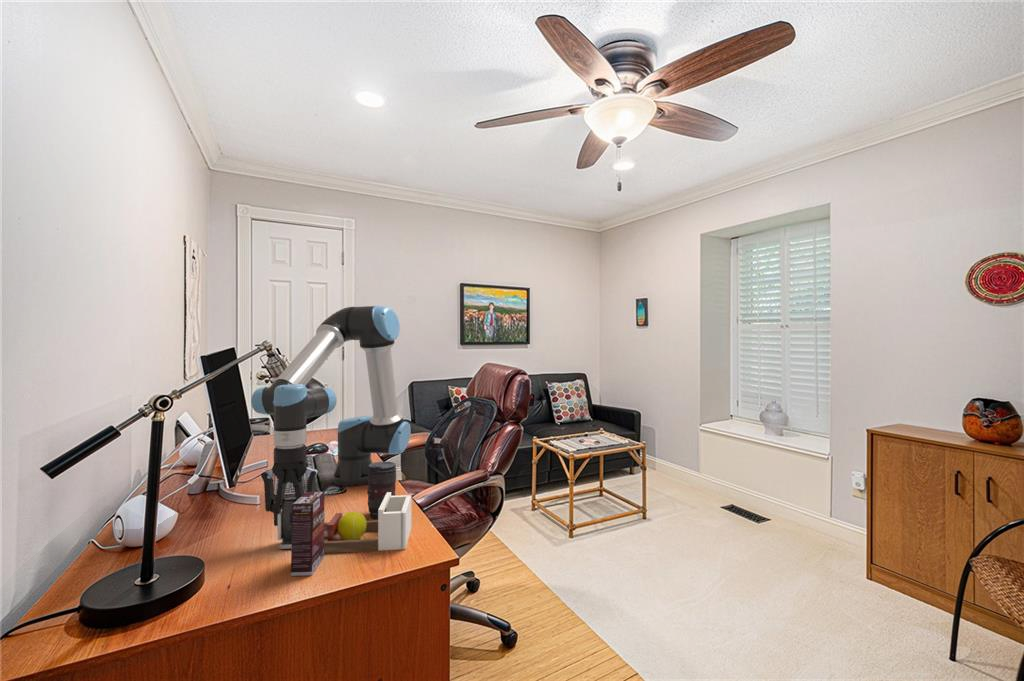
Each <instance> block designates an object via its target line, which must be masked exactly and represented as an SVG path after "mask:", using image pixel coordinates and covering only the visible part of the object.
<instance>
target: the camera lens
mask: <svg viewBox="0 0 1024 681" xmlns="http://www.w3.org/2000/svg"><path fill="white" fill-rule="evenodd" d="M396 481H397V467H396V463H395V462H392V461H376V462H372V463H371V464H370V465H369V469H368V483H367V485H368V487H367V490H366V491H367V492H366V494H367V508H368V512H369V517H370V518H372V519H374V520H375V519H376V520H378V509H379V507H380V505H381V503H382V501H383V499H384V497H385V495H386V493H387V492H391V496H397V494H396V483H397V482H396ZM384 512H386V509H385V511H384Z"/></svg>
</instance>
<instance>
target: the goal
mask: <svg viewBox="0 0 1024 681" xmlns="http://www.w3.org/2000/svg"><path fill="white" fill-rule="evenodd" d="M385 509H386V512H384V511H385ZM377 520H378V531H377V532H378V533H377V536H378V537H377V539H378V551H380V552H381V551H396V550H406V549H407V545H408V542H409V537H410V534H411V530H412V494H406V495H405V494H403V495H402V494H401V495H396V496H391V492H387V493H386V495H385V497H384V499H383V501H382V503H381V505H380V507H379V509H378V519H377ZM378 551H377V552H378Z"/></svg>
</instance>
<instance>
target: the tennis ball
mask: <svg viewBox="0 0 1024 681" xmlns="http://www.w3.org/2000/svg"><path fill="white" fill-rule="evenodd" d="M366 521H367V520H366V517H365V516H364V515H363V514H362V513H361V512H358V511H350V512H346V513H345V514H344V515H342V518H341V519H340V520H339V523H338V527H337V531H338V534H339V536H340V537H339V538H340V539H341V540H342V541H343V540H360V538H362V537H363V536H364V535H365V532H367V531H366V527H367V522H366Z"/></svg>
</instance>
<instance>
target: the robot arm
mask: <svg viewBox="0 0 1024 681" xmlns="http://www.w3.org/2000/svg"><path fill="white" fill-rule="evenodd" d="M400 330H401V326H400V321H399V318H398V315H397V313H396V312H395V311H394V310H393V309H392V308H391V307H390V306H380V305H370V306H369V305H368V306H367V305H366V306H349V307H348V306H347V307H344V308H341V309H339V310H337V311H336V312H334V313H332V314H331V315H330V316H328V317H327V318H326V319H324V320H323V322H321V323H320V324H319V326H318V327H317V328H316V331H315V335H314V336H313V337H312V338H311V340H310V341H309V342H308V343H307V344H306V345H305V346H304V347H303V349H301V351H300V352H299V353H298V354H297V355H296V357H295V358H294V359H293V360H292V361H291V362H290V363H289V365H287V366H286V368H285V369H284V370H283V371H282V372H281V373H280V375H279V376H278V377H277V378H276V379H274V382H272V383H271V385H270V386H264V387H259V388H257V389H256V390H254V392H253V394H252V395H251V399H250V404H251V408H252V410H253V411H254V412H255V413H257V414H262V415H267V416H273V446H275V447H274V448H273V465H272V467H271V469H267V470H264V472H262V473H261V474H260V476H261V479H262V482H263V487H264V506H265V511H266V512H268V513H269V512H271V513H273V525H274V527H277V541H282V500H283V499H284V498H285V495H286V494H285V493H286V489H287V485H288V483H290V484H292V487H293V489H294V493H295V497H296V500H298V499H299V498H300V497H302V496H303V495H304V494H305V491H304V485H303V482H304V481H303V476H305V474H306V476H307V486H306V492H316V482H317V481H316V479H317V476H318V473H319V469H318V468H315V469H314V468H311V467H309V464H308V462H307V445H306V443H307V419H310V418H313V417H319V416H324V415H326V414H328V413H331V412H332V411H333V410H334V409H336V406H337V401H338V400H337V396H336V393H335V391H333V389H331V388H328V387H317V388H307V386H306V385H308V383H309V382H310V381H311V380H312V378H313V377H314V376H315V374H316V373H317V372H318V371H319V369H321V367H322V365H324V363H325V362H326V361H327V359H329V357H330V356H331V355H332V353H333V352H334V351H335V350H336V349H339V348H340V347H342V346H343V345H344V343H345V342H349V341H359V347H360V348H361V349H362V350H363V351H364V352H365V360H366V366H367V368H366V369H367V374H368V375H367V376H368V384H369V391H370V400H371V405H372V416H370V415H361V416H356V417H349V418H345V419H342V420H340V421H339V422H338V425H337V462H336V465H335V468H334V471H333V475H332V483H333V482H334V483H335V484H334V483H333V484H334V485H336V484H339V485H338V486H340V485H342V486H343V487H352V486H361V485H365V484H368V469H369V465H370V464H371V463H373V460H372V454H382V455H389V456H390V455H401V454H402V453H403V452H405V451H406V449H407V447H408V445H409V443H410V439H411V434H412V433H411V431H412V430H411V425H410V423H409V422H408V421H404V418H403V414H402V413H401V412H399V409H398V401H397V392H396V383H395V376H394V366H393V365H394V364H393V359H392V358H393V356H392V347H393V346H394V345H395V340H397V339H398V337H399V335H400ZM274 476H275V477H276V478H277V490H276V493H275V490H274V486H275V485H274V478H273V477H274ZM342 486H341V487H342ZM275 494H276V495H275Z"/></svg>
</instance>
